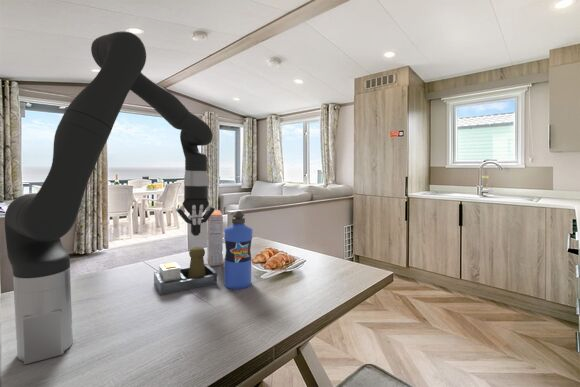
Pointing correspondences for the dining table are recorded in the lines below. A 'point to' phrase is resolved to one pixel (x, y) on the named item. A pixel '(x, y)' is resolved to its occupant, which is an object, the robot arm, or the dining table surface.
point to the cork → (196, 263)
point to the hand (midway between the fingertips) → (195, 235)
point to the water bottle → (237, 253)
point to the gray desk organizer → (181, 278)
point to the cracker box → (215, 239)
